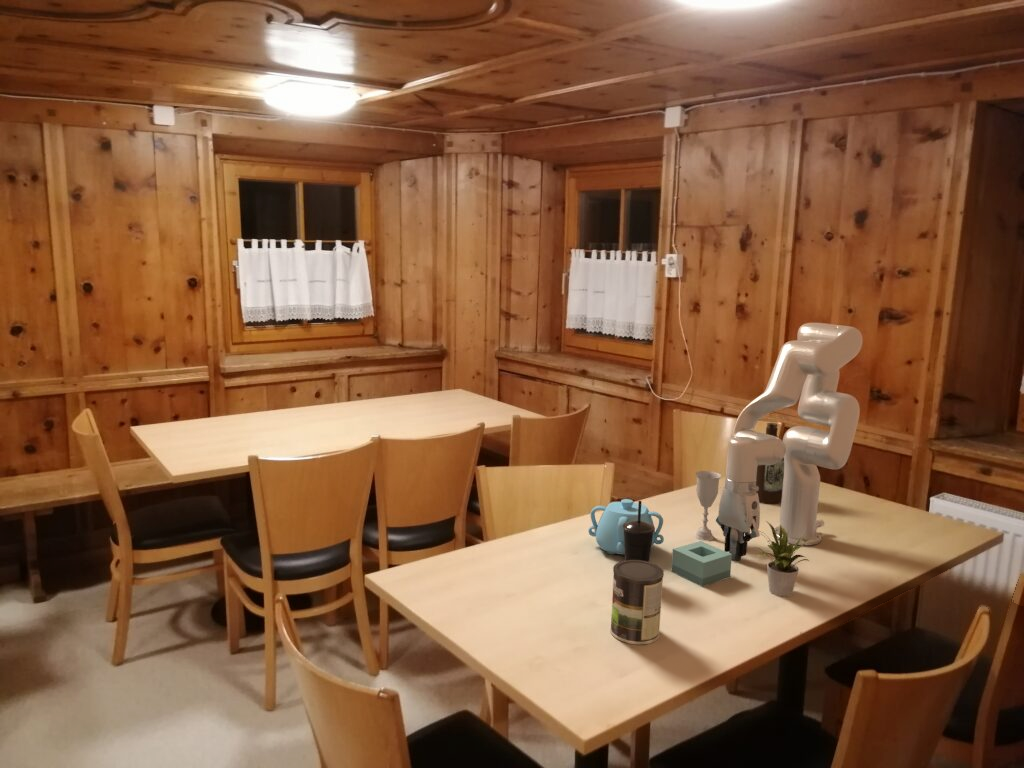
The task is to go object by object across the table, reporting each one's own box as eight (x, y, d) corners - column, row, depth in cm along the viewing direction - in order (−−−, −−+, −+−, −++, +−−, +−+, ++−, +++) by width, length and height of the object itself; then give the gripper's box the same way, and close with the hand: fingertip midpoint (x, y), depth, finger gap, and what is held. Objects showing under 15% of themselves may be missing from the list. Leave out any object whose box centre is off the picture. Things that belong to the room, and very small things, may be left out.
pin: (734, 555, 206) (736, 519, 204) (743, 559, 203) (746, 523, 201) (725, 558, 204) (728, 521, 202) (735, 562, 201) (738, 525, 200)
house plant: (732, 581, 190) (736, 517, 187) (777, 573, 195) (783, 511, 192) (771, 607, 177) (777, 538, 174) (819, 598, 182) (826, 531, 179)
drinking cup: (654, 576, 192) (658, 498, 188) (649, 589, 185) (653, 508, 181) (623, 571, 194) (627, 494, 191) (617, 584, 187) (620, 504, 184)
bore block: (699, 563, 200) (700, 540, 199) (730, 577, 192) (731, 554, 191) (671, 571, 195) (672, 548, 194) (701, 586, 187) (703, 562, 186)
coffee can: (616, 645, 159) (619, 580, 156) (605, 621, 169) (608, 559, 166) (666, 644, 160) (669, 579, 157) (652, 620, 170) (656, 559, 167)
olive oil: (742, 494, 256) (748, 420, 251) (772, 493, 258) (778, 419, 253) (759, 505, 245) (765, 428, 241) (790, 504, 248) (796, 427, 243)
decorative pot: (612, 565, 198) (615, 514, 196) (583, 542, 213) (585, 494, 210) (667, 556, 204) (670, 507, 202) (635, 534, 219) (637, 488, 216)
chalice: (717, 542, 214) (721, 479, 211) (691, 540, 216) (695, 477, 212) (716, 533, 221) (720, 471, 218) (691, 531, 223) (695, 470, 219)
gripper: (776, 491, 195) (770, 561, 199) (725, 474, 209) (720, 540, 212) (757, 496, 191) (751, 567, 195) (705, 479, 204) (701, 545, 208)
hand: (735, 552), depth 203 cm, fingers closed on pin, 3 cm apart
